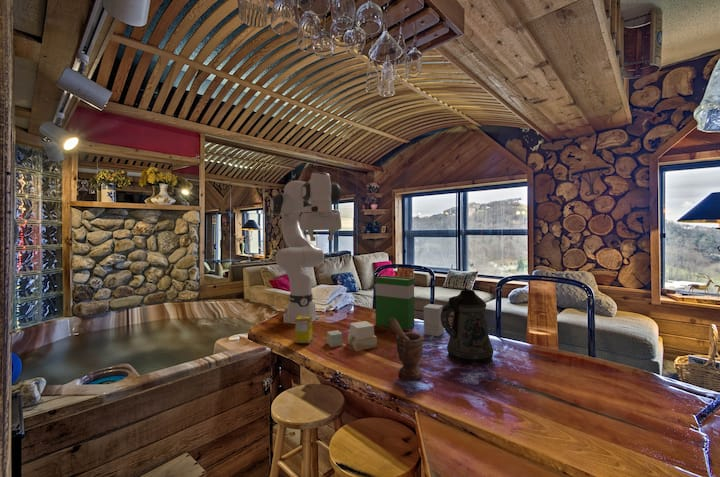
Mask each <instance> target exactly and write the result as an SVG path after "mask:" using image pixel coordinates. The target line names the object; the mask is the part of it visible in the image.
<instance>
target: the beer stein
mask: <svg viewBox="0 0 720 477" xmlns="http://www.w3.org/2000/svg"><path fill="white" fill-rule="evenodd" d="M486 308H487V303H486V302H485V300H483V299H482V298H481V297H479V295H477V294H476V292H475V290H471V289H462V290H461V291H460V292H459V294H458V295H453V296H450V297H449V298H448V303H447V304H446V305H443V309H442V312H441V316H440V318H441V323H442V326H443V328H444V332H446V333H447V335H449V340H448V343H447V345H446V349H447V355H448V357H449V358H450V360H452V361H454V362H457V363H459V364H462V365H467V366H486V365H487V364H488V365H489V364H490V363H491V362H492V361H493V360H492V359H493V355H494V348H493V345H492V343H491V340H490V335H489V330H488V326H487V325H488V324H487V318H486V313H485V311H486ZM452 312H453V313H452ZM451 314H452V320H451V325H450V322H449V318H450V315H451Z"/></svg>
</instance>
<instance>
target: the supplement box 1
mask: <svg viewBox="0 0 720 477" xmlns="http://www.w3.org/2000/svg"><path fill="white" fill-rule="evenodd" d="M294 325H295V326H294V332H295V333H294V335H295V345H310V344H311V343H312V341H313V322H312V316H309V315H299V316H298V317H297V318H296V319H295V324H294Z"/></svg>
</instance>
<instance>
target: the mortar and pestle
mask: <svg viewBox="0 0 720 477" xmlns="http://www.w3.org/2000/svg"><path fill="white" fill-rule="evenodd" d="M388 323H389V325H390V327H389V328H391V330H393V332H394V333H395V334H396V337H395V338H396V351H397V352H396V353H397V354H398V359H399V361H400V362H402V365H403V366H402V367H401V368H400V369H399V371H398V376H399V377H400V378H402V379H403V380H407V381H417V380H419V379H421V377H422V374H423V373H422V371H421V369H420V367H418V364H419V363H420V362H421V359H422V357H423V352H424V346H423V343H424V336H423V335H422V334H420V333H416V332H404V331H403V329H401V327H400V325H399V323H398V321H397V320H396V319H395V318H393V317H392V318H390V319H389V320H388Z"/></svg>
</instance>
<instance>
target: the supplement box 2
mask: <svg viewBox="0 0 720 477" xmlns="http://www.w3.org/2000/svg"><path fill="white" fill-rule="evenodd" d="M443 307H444V305H441V304H432V303H428V304H426V305H425V306H423V334H424V335H428V336H435V337H440V336H441V335H442V334H444V332H445V329H444V328H443V326H442V323H441V318H440V316H441V312H442V309H443Z"/></svg>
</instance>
